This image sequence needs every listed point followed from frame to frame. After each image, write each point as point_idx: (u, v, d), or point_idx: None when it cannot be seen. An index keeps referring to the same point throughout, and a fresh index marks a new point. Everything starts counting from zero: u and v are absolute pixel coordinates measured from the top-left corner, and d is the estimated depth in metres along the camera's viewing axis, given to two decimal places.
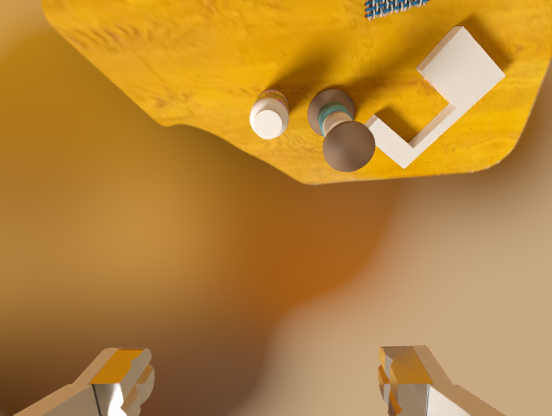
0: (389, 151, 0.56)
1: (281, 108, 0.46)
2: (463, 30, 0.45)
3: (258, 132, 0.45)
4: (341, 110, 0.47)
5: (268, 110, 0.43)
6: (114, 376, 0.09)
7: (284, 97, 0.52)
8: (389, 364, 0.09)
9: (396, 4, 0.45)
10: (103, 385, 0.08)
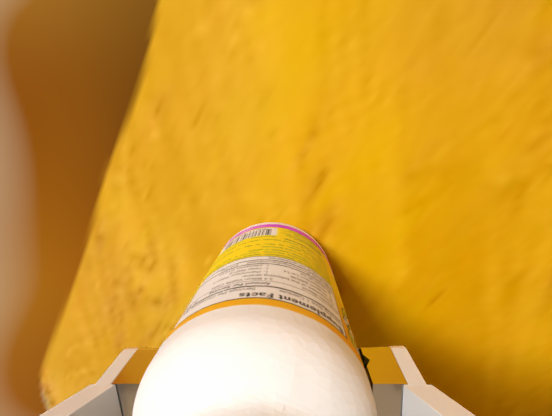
0: None
1: None
2: None
3: None
4: None
5: None
6: (137, 376, 0.08)
7: None
8: (366, 364, 0.09)
9: None
10: (126, 385, 0.08)
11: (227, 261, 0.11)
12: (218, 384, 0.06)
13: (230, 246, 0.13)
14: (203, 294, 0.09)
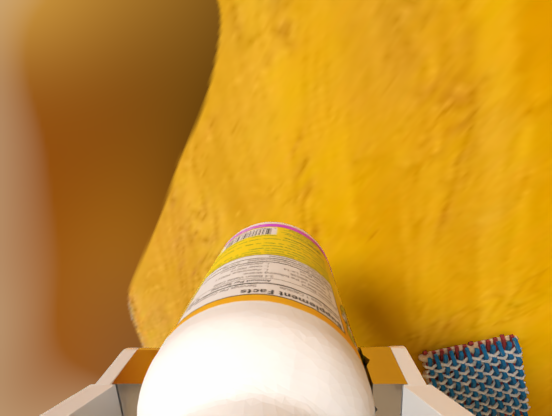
0: None
1: None
2: None
3: None
4: None
5: None
6: (137, 376, 0.08)
7: None
8: (366, 364, 0.09)
9: None
10: (126, 385, 0.08)
11: (228, 260, 0.11)
12: (221, 377, 0.06)
13: (231, 245, 0.14)
14: (205, 291, 0.09)
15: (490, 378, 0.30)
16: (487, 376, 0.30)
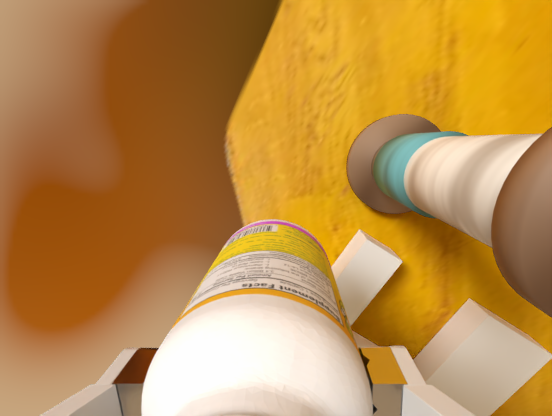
0: None
1: None
2: (547, 358, 0.27)
3: None
4: None
5: None
6: (137, 376, 0.08)
7: None
8: (366, 364, 0.09)
9: None
10: (126, 385, 0.08)
11: (229, 256, 0.12)
12: (223, 366, 0.07)
13: (232, 242, 0.14)
14: (207, 286, 0.10)
15: None
16: None
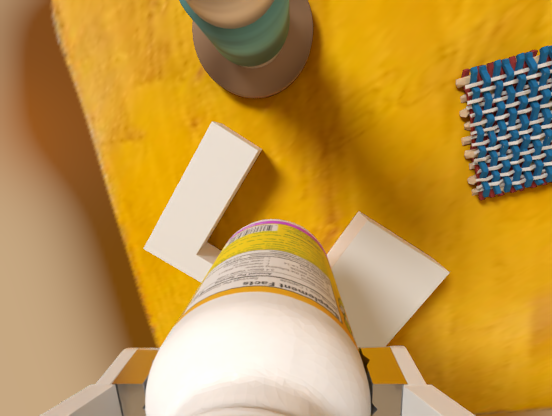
0: (179, 202, 0.22)
1: None
2: (442, 275, 0.23)
3: None
4: None
5: None
6: (137, 376, 0.08)
7: None
8: (366, 364, 0.09)
9: (486, 130, 0.22)
10: (126, 385, 0.08)
11: (230, 255, 0.12)
12: (225, 362, 0.07)
13: (233, 241, 0.14)
14: (209, 284, 0.10)
15: None
16: None
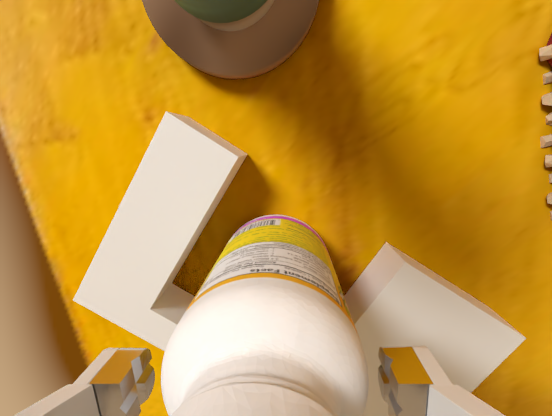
0: (121, 234, 0.15)
1: None
2: (514, 342, 0.15)
3: None
4: None
5: None
6: (114, 376, 0.09)
7: None
8: (389, 364, 0.09)
9: None
10: (103, 385, 0.08)
11: (237, 247, 0.12)
12: (236, 338, 0.07)
13: (238, 235, 0.15)
14: (218, 272, 0.10)
15: None
16: None
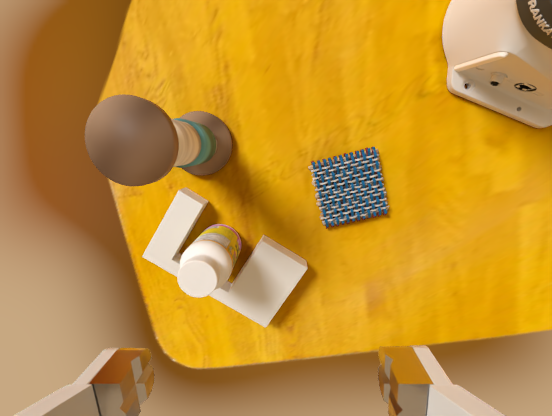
0: (161, 231, 0.42)
1: (221, 284, 0.35)
2: (304, 270, 0.42)
3: (184, 267, 0.32)
4: (202, 145, 0.33)
5: (216, 279, 0.32)
6: (114, 376, 0.09)
7: None
8: (389, 364, 0.09)
9: (323, 193, 0.41)
10: (103, 385, 0.08)
11: (201, 234, 0.39)
12: (197, 252, 0.34)
13: (203, 231, 0.41)
14: (194, 241, 0.37)
15: (357, 179, 0.41)
16: (355, 178, 0.41)
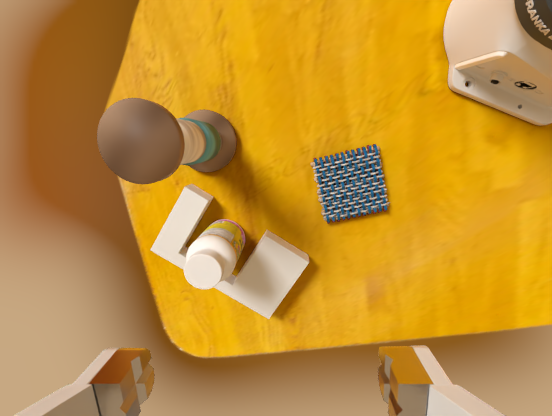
0: (168, 226, 0.43)
1: (226, 276, 0.37)
2: (305, 264, 0.43)
3: (190, 260, 0.34)
4: (207, 143, 0.34)
5: (221, 272, 0.34)
6: (114, 376, 0.09)
7: None
8: (389, 364, 0.09)
9: (324, 189, 0.43)
10: (103, 385, 0.08)
11: (206, 229, 0.41)
12: (202, 246, 0.36)
13: (209, 226, 0.43)
14: (200, 235, 0.39)
15: (358, 175, 0.42)
16: (356, 175, 0.42)
